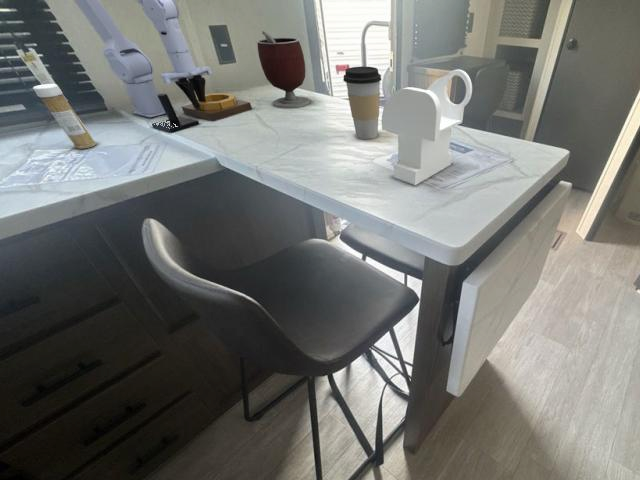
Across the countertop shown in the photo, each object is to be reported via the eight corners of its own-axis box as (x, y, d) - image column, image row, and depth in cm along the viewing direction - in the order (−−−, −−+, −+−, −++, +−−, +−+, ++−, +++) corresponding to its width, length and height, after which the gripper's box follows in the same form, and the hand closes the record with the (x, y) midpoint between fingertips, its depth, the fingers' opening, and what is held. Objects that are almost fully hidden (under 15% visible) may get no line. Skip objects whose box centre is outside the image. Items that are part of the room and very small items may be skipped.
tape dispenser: (421, 154, 77) (426, 64, 64) (467, 168, 71) (481, 72, 58) (383, 174, 69) (379, 76, 56) (431, 191, 64) (438, 86, 51)
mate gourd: (281, 97, 116) (263, 25, 101) (317, 98, 114) (304, 25, 100) (262, 109, 105) (240, 30, 91) (302, 110, 104) (285, 31, 89)
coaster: (184, 113, 102) (180, 106, 100) (223, 102, 111) (221, 96, 109) (213, 121, 96) (210, 113, 95) (252, 109, 105) (250, 102, 104)
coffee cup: (389, 132, 88) (387, 67, 77) (373, 144, 82) (369, 75, 71) (360, 128, 91) (354, 64, 80) (343, 138, 85) (334, 71, 74)
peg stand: (153, 127, 92) (136, 96, 86) (181, 119, 98) (168, 89, 92) (171, 132, 89) (155, 100, 83) (199, 124, 94) (186, 93, 89)
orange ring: (186, 106, 101) (183, 99, 99) (220, 97, 108) (218, 91, 107) (211, 112, 96) (208, 105, 95) (244, 102, 103) (242, 96, 102)
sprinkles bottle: (98, 142, 84) (58, 82, 74) (95, 147, 81) (53, 86, 72) (77, 144, 83) (34, 84, 73) (73, 150, 80) (28, 88, 70)
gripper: (161, 56, 83) (186, 114, 93) (209, 49, 91) (228, 102, 101) (146, 54, 85) (172, 110, 95) (194, 47, 94) (214, 99, 104)
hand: (200, 106), depth 98 cm, fingers closed on orange ring, 2 cm apart
